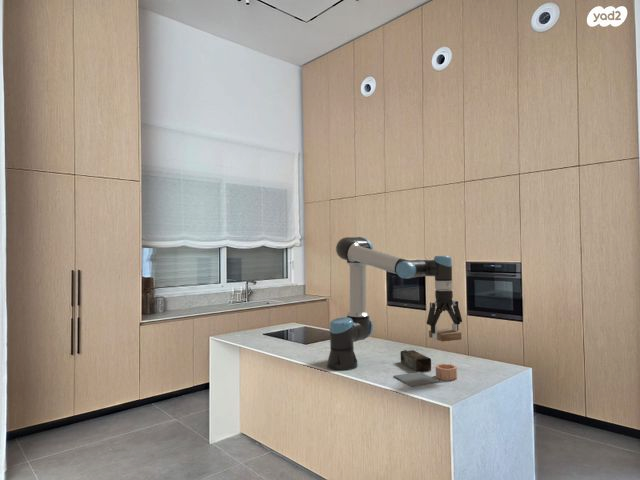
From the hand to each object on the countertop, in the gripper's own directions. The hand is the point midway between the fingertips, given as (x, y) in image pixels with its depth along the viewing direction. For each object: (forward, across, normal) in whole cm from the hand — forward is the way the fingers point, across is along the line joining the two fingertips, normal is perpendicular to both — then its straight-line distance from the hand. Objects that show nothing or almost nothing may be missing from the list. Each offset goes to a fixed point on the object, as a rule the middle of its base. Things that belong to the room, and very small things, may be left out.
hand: (445, 339), depth 191 cm
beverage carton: (+18, -3, +21) cm, 27 cm away
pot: (+17, 0, 0) cm, 17 cm away
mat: (+17, -14, +3) cm, 22 cm away
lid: (-1, 0, 0) cm, 1 cm away
